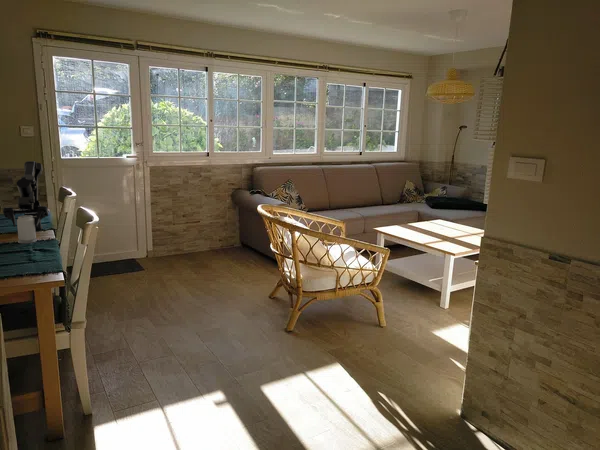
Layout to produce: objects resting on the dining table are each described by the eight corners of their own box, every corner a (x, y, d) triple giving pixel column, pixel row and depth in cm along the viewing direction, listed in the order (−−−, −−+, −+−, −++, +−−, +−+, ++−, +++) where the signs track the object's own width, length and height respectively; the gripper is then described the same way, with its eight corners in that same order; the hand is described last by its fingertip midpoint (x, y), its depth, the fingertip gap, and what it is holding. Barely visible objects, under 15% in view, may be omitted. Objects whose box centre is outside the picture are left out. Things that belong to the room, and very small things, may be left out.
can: (28, 242, 220) (25, 218, 217) (14, 241, 221) (12, 216, 219) (39, 238, 227) (37, 215, 224) (26, 237, 228) (24, 214, 226)
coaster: (19, 240, 226) (19, 238, 226) (37, 238, 229) (37, 237, 229) (16, 244, 219) (16, 242, 219) (35, 243, 222) (35, 241, 222)
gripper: (1, 190, 218) (-1, 218, 211) (45, 189, 225) (44, 216, 218) (6, 204, 227) (4, 230, 220) (48, 202, 234) (48, 228, 227)
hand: (25, 226), depth 221 cm, fingers open, 9 cm apart
